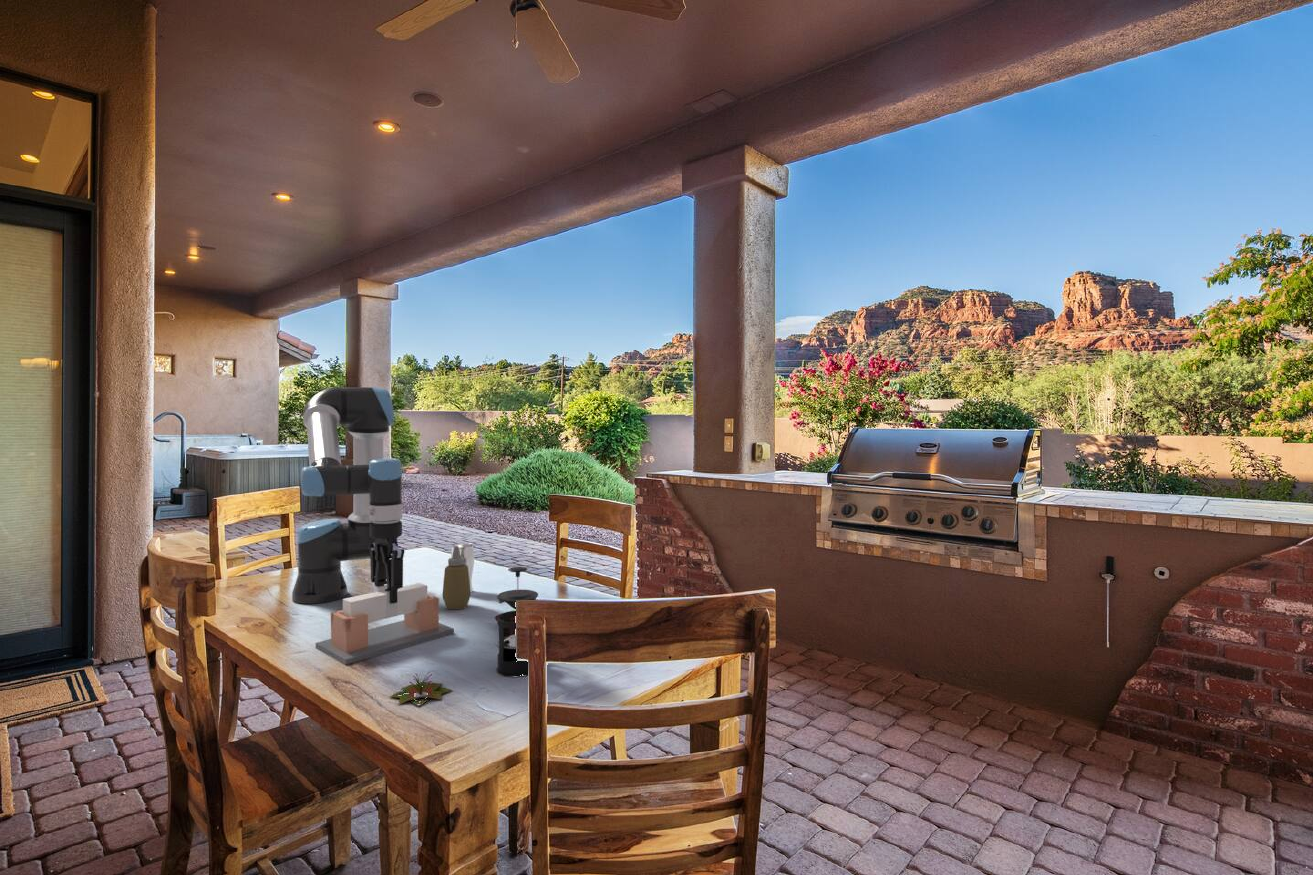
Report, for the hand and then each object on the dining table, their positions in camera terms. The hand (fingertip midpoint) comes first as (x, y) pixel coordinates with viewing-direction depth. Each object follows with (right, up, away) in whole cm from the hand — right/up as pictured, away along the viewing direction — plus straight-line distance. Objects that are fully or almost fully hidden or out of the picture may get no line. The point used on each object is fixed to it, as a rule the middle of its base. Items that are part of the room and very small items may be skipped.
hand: (386, 613), depth 164 cm
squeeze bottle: (+9, -6, +28) cm, 30 cm away
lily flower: (+19, -9, -30) cm, 37 cm away
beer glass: (+6, -5, +43) cm, 44 cm away
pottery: (+32, -7, +6) cm, 33 cm away
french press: (+37, -8, -16) cm, 41 cm away
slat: (0, -1, 0) cm, 1 cm away
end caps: (0, -7, 0) cm, 7 cm away
